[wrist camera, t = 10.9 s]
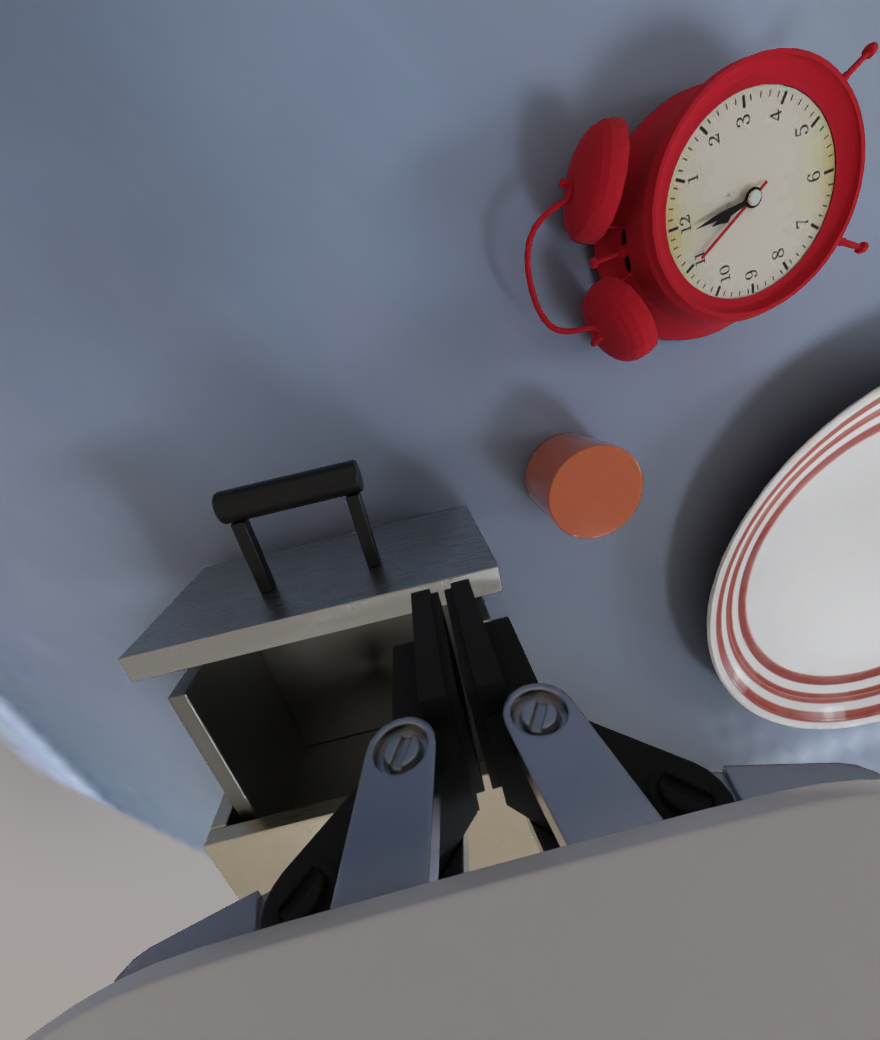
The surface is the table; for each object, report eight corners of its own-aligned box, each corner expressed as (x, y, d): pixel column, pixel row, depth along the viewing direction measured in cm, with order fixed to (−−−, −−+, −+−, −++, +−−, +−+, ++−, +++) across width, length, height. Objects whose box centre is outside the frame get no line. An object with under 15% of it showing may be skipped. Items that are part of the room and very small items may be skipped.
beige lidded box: (264, 692, 28) (202, 847, 19) (500, 633, 28) (549, 759, 19) (334, 835, 33) (312, 1006, 24) (530, 785, 34) (578, 936, 25)
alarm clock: (890, 277, 19) (627, 398, 16) (752, 307, 24) (542, 399, 22) (908, -31, 15) (568, 61, 12) (739, 90, 21) (483, 170, 18)
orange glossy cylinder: (603, 423, 24) (642, 434, 20) (608, 503, 25) (645, 526, 22) (519, 443, 23) (543, 457, 20) (530, 521, 25) (554, 548, 22)
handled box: (164, 487, 21) (45, 549, 14) (449, 419, 22) (476, 446, 14) (291, 746, 28) (256, 876, 21) (505, 693, 29) (542, 803, 21)
